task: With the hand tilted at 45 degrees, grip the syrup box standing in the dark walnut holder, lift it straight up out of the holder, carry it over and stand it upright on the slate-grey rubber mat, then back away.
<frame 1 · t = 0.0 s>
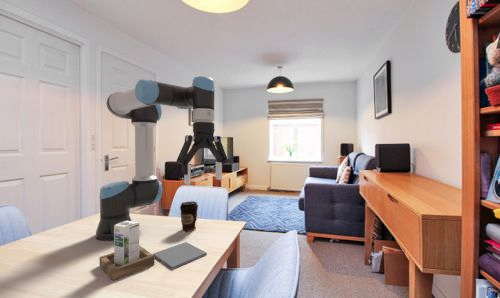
hand: (203, 181, 84), 28 cm above the table, tool pointing down, fingers open, 13 cm apart
rubber mat: (179, 255, 88), on the table
coffee cup: (189, 229, 114), on the table
walnut holder: (127, 265, 81), on the table
syrup box: (127, 265, 81), resting in walnut holder
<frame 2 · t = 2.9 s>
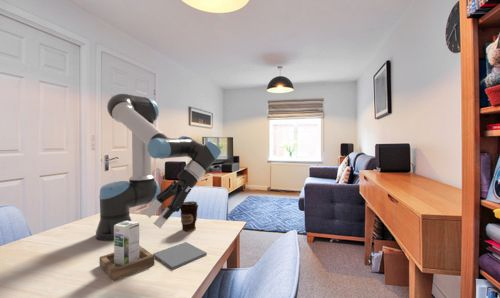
hand: (151, 220, 84), 14 cm above the table, tool tilted 45°, fingers open, 13 cm apart
nothing on the table moved.
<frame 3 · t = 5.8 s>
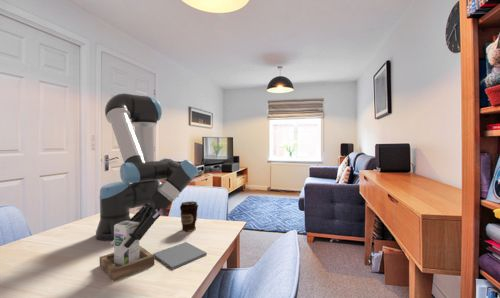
hand: (115, 250, 79), 6 cm above the table, tool tilted 45°, fingers closed on syrup box, 8 cm apart
syrup box: (127, 265, 81), resting in walnut holder, touching gripper
everything else where it was.
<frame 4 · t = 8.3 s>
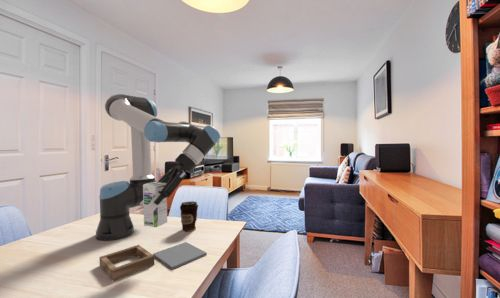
hand: (145, 208, 81), 19 cm above the table, tool tilted 45°, fingers closed on syrup box, 8 cm apart
syrup box: (156, 224, 83), point 13 cm above the table, touching gripper
everything else where it was.
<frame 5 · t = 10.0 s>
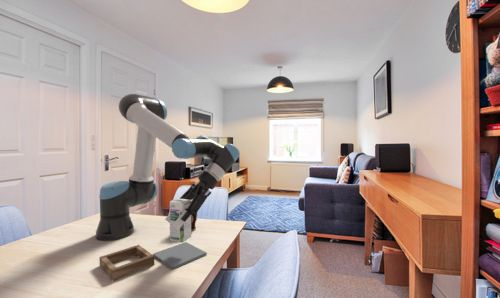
hand: (171, 224, 86), 12 cm above the table, tool tilted 45°, fingers closed on syrup box, 8 cm apart
syrup box: (180, 239, 88), point 6 cm above the table, touching gripper
everything else where it was.
when the fingers open (8 cm above the table, at t = 11.1 s): syrup box drops 1 cm, resting on rubber mat.
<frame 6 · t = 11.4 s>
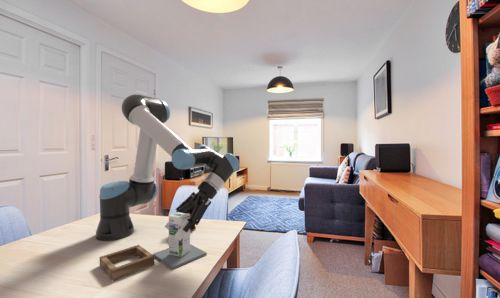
hand: (171, 233, 86), 9 cm above the table, tool tilted 45°, fingers open, 10 cm apart
syrup box: (179, 253, 88), point 1 cm above the table, touching rubber mat
everything else where it was.
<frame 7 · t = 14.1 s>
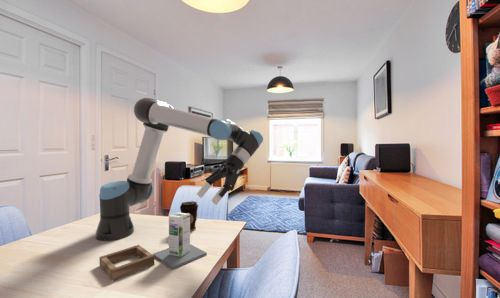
hand: (205, 199, 94), 19 cm above the table, tool tilted 45°, fingers open, 13 cm apart
nothing on the table moved.
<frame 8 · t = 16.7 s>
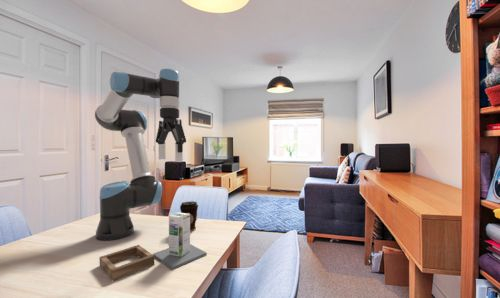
hand: (170, 160, 97), 35 cm above the table, tool pointing down, fingers open, 13 cm apart
nothing on the table moved.
at the end: syrup box inside the target area on the rubber mat (0.3 cm from its centre), point 0.6 cm above the rubber mat's base; syrup box tilted 0°; the gripper is holding nothing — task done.
